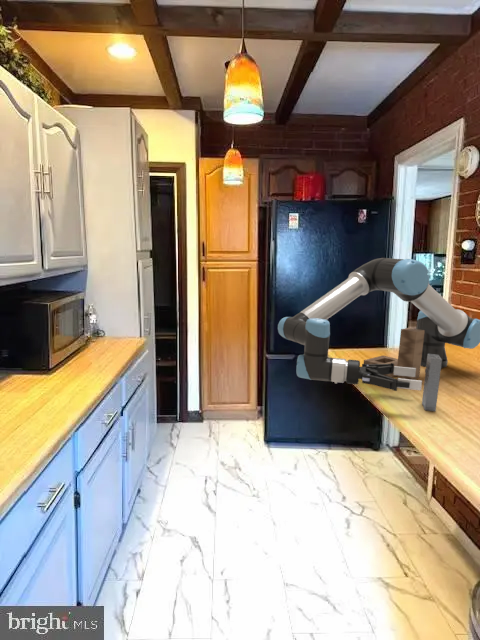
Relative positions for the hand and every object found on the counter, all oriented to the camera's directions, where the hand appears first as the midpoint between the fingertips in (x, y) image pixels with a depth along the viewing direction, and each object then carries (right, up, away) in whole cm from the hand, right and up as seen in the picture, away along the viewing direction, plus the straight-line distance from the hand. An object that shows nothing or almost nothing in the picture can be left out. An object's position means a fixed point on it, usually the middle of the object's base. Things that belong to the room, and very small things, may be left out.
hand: (418, 378), depth 133 cm
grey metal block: (+4, -9, +1) cm, 10 cm away
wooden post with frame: (+5, -3, +37) cm, 37 cm away
